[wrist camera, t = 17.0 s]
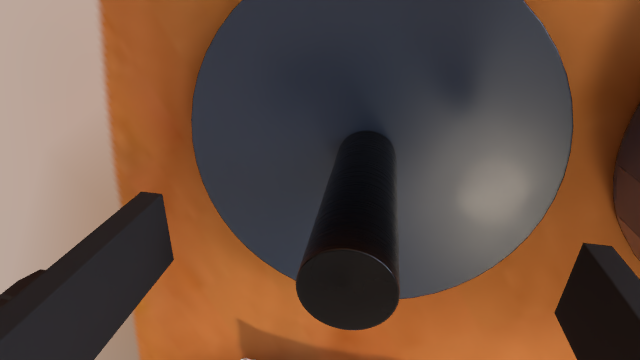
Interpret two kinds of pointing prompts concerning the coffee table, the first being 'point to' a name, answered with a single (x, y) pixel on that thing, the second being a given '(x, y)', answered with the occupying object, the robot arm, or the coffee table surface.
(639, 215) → the pot
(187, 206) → the coffee table surface
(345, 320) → the lid
